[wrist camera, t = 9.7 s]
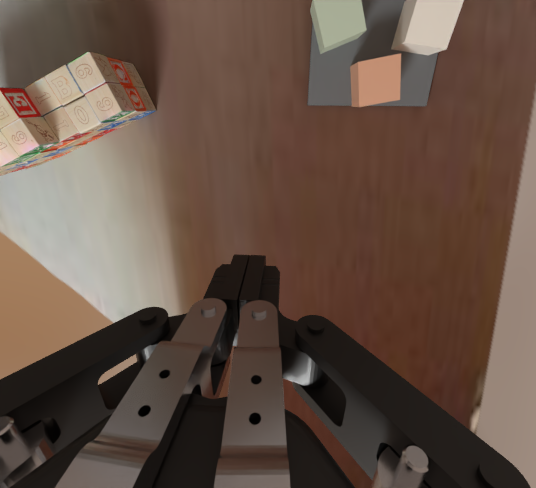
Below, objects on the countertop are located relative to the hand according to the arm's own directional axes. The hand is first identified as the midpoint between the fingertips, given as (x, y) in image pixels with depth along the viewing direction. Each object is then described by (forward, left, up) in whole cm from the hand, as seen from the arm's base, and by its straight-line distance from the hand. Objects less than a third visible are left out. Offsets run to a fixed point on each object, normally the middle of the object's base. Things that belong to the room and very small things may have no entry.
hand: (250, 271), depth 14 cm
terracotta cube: (-10, +12, -30) cm, 34 cm away
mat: (-12, +11, -31) cm, 35 cm away
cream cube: (-15, +16, -30) cm, 37 cm away
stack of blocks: (-5, -28, -31) cm, 42 cm away
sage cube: (-16, +6, -30) cm, 35 cm away
